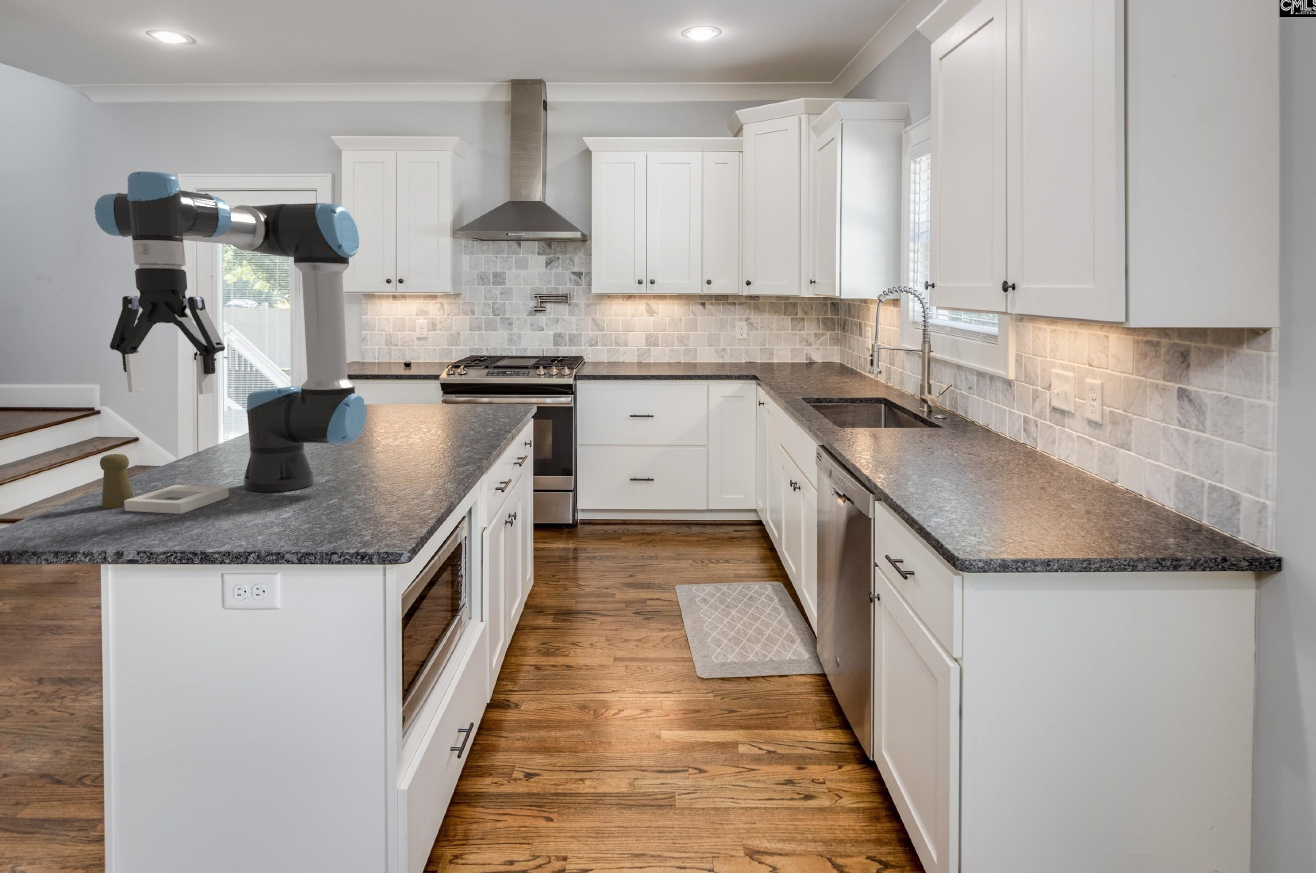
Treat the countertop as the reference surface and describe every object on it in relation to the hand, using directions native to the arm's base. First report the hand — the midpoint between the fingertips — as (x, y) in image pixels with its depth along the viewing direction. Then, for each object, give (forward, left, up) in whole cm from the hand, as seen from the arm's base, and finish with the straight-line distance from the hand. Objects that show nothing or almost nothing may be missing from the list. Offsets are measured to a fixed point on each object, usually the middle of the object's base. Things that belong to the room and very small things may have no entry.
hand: (171, 392), depth 147 cm
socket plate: (-28, -24, -28) cm, 46 cm away
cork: (-25, -35, -28) cm, 51 cm away
